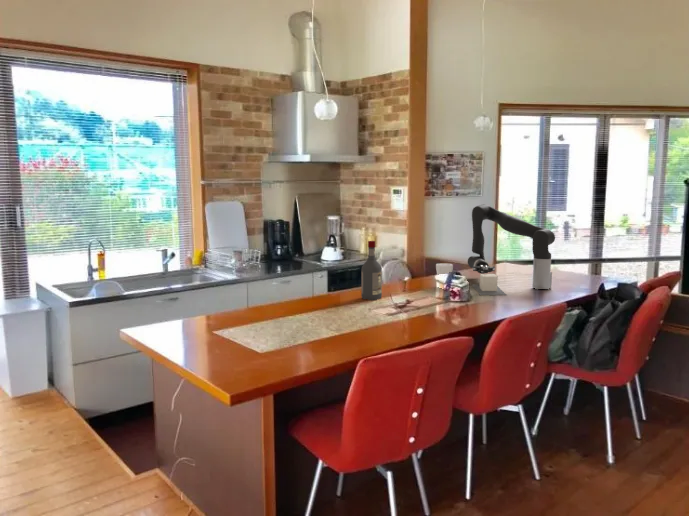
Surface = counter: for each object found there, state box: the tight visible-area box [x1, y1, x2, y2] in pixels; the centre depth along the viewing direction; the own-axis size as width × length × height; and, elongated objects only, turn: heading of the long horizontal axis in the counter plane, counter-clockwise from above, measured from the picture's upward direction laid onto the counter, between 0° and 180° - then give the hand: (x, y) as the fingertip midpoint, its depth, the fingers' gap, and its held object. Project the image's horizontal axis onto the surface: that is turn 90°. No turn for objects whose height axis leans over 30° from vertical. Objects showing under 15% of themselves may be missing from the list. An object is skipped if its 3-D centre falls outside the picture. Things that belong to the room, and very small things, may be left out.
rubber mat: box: [471, 284, 507, 296], centre depth 323 cm, size 28×14×1 cm, turn 177°
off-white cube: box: [479, 273, 499, 291], centre depth 323 cm, size 8×8×8 cm
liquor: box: [360, 240, 383, 301], centre depth 302 cm, size 9×9×30 cm
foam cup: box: [435, 263, 454, 276], centre depth 332 cm, size 10×9×13 cm
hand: (486, 271), depth 328 cm, fingers closed
